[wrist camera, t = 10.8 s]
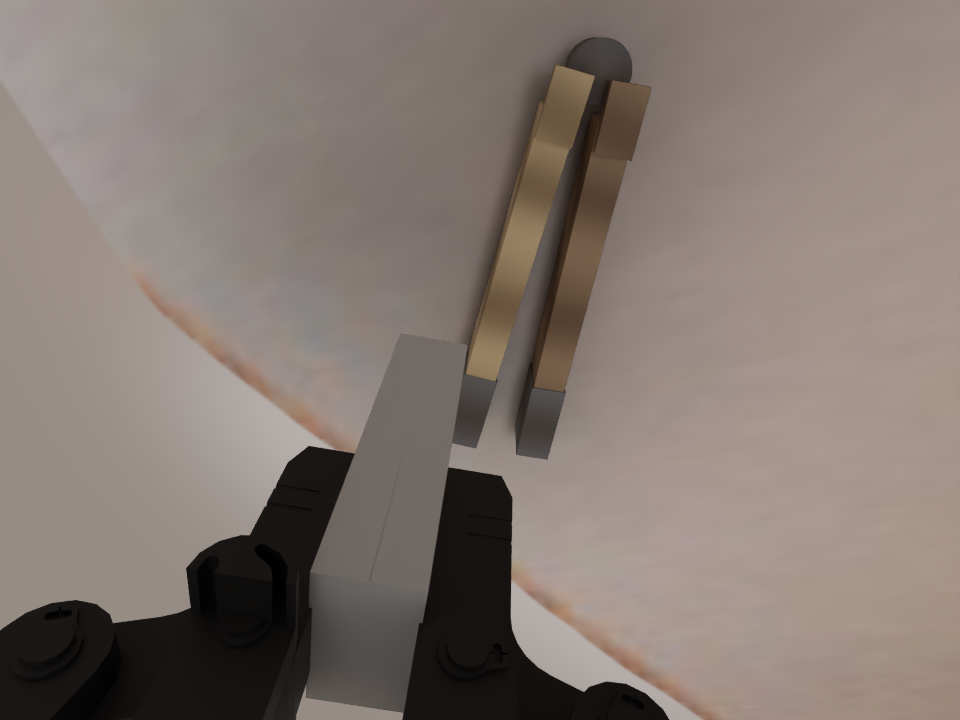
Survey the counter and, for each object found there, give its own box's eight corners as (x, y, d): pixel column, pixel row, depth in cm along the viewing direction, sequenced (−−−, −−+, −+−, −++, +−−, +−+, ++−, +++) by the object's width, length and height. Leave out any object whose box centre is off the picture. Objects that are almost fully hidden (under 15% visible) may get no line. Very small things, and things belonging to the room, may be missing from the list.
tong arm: (548, 60, 30) (554, 64, 27) (586, 71, 30) (596, 76, 27) (448, 414, 40) (443, 447, 37) (477, 420, 40) (475, 454, 37)
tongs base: (572, 32, 29) (581, 32, 26) (646, 46, 30) (664, 48, 26) (490, 422, 41) (489, 458, 37) (544, 430, 41) (548, 467, 37)
